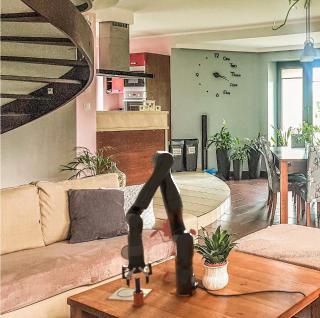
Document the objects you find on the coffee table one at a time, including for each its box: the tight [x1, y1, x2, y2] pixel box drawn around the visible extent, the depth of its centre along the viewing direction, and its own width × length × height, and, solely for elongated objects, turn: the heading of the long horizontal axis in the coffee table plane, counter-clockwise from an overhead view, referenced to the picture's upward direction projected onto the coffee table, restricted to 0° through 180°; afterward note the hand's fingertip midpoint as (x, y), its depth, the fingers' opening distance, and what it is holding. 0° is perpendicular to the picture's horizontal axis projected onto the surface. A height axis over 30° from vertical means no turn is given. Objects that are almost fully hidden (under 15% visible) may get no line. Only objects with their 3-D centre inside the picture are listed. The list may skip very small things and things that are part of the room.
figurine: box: [149, 217, 197, 283], centre depth 247 cm, size 15×26×35 cm, turn 115°
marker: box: [134, 276, 141, 293], centre depth 214 cm, size 2×2×14 cm
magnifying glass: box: [120, 244, 133, 280], centre depth 247 cm, size 9×2×20 cm, turn 105°
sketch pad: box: [107, 286, 153, 301], centre depth 227 cm, size 18×14×1 cm
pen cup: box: [133, 288, 145, 307], centre depth 214 cm, size 5×5×7 cm
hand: (137, 284), depth 214 cm, fingers open, 8 cm apart
